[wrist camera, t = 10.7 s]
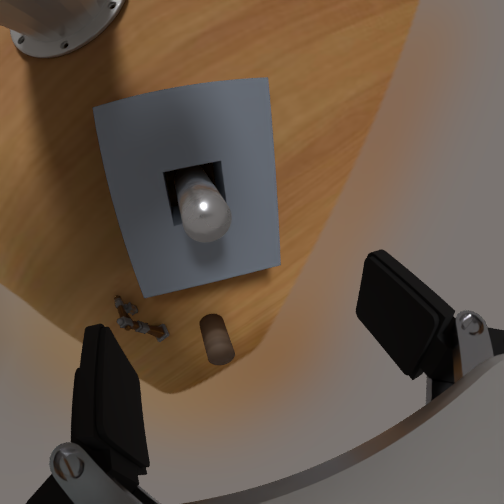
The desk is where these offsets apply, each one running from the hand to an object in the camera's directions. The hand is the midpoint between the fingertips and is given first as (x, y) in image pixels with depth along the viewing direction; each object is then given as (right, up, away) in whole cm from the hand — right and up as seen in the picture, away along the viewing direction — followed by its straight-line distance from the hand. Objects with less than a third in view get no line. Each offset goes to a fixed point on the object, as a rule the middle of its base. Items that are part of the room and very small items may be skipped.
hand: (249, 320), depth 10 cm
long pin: (-6, +9, +18) cm, 21 cm away
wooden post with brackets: (-14, -5, +24) cm, 28 cm away
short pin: (-5, -7, +27) cm, 29 cm away
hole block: (-6, +9, +18) cm, 21 cm away
